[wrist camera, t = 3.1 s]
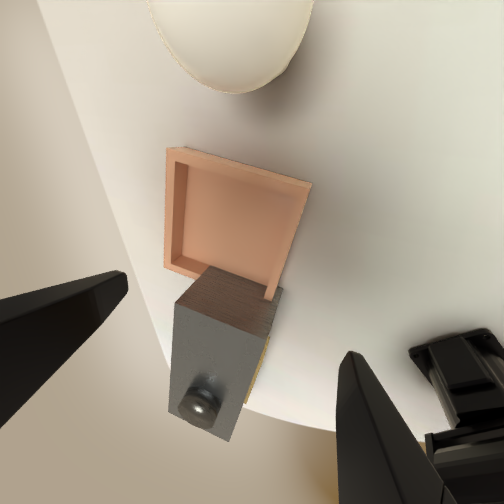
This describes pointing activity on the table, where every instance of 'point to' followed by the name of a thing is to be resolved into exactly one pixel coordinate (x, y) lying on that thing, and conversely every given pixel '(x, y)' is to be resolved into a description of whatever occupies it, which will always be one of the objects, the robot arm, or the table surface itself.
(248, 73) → the lightbulb
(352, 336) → the table surface
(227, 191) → the dish
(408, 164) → the table surface
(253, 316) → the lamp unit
